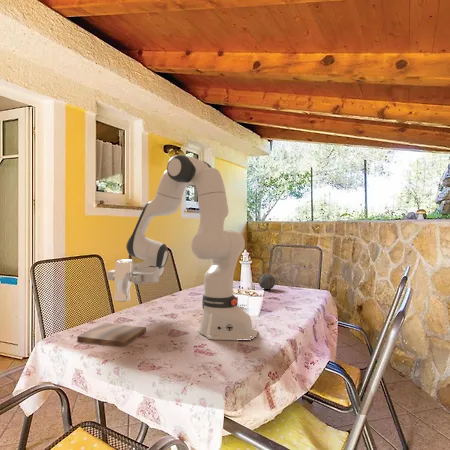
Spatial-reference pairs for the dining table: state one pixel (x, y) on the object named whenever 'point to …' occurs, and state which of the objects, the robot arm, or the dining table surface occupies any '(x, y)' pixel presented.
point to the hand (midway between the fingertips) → (122, 279)
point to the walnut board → (112, 334)
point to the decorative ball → (266, 281)
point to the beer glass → (123, 279)
